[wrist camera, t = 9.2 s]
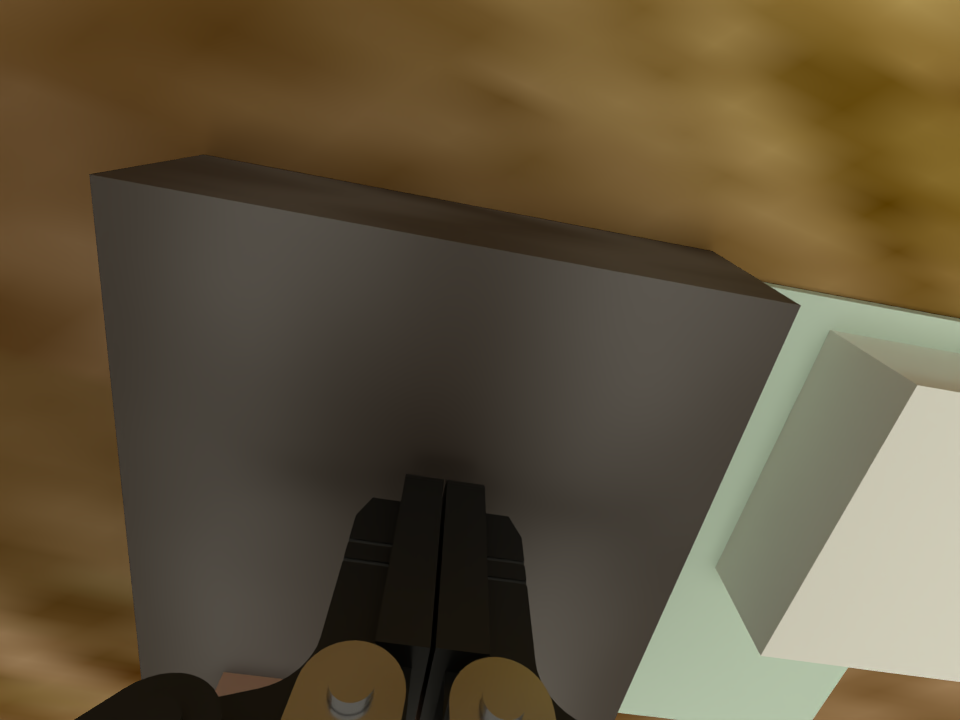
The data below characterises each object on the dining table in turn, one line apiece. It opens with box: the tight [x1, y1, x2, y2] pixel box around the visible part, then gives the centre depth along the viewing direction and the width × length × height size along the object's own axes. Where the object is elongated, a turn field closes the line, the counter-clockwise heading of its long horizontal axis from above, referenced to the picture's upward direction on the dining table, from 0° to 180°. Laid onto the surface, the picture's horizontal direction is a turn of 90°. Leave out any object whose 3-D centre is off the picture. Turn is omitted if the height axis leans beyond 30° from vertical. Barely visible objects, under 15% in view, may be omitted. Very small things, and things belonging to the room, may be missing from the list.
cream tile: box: [715, 330, 960, 682], centre depth 14 cm, size 6×8×3 cm
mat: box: [618, 282, 960, 720], centre depth 17 cm, size 9×16×1 cm, turn 169°
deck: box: [89, 155, 801, 720], centre depth 14 cm, size 12×17×4 cm
